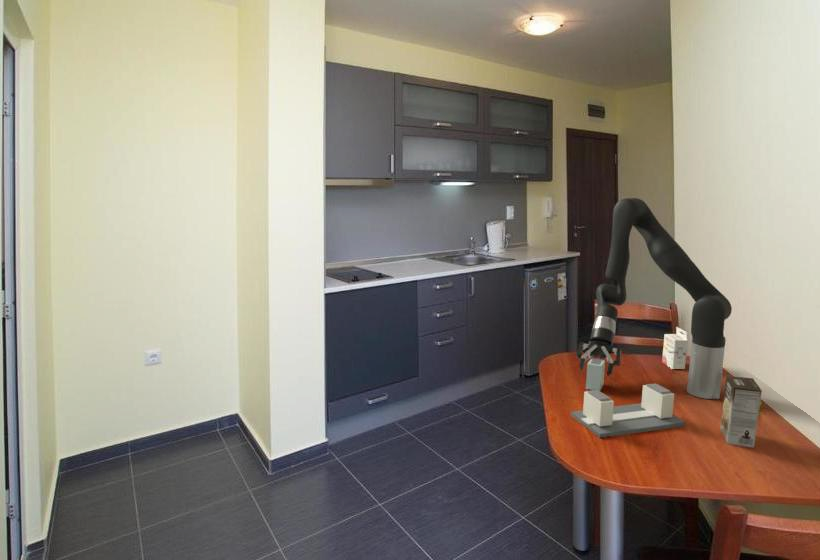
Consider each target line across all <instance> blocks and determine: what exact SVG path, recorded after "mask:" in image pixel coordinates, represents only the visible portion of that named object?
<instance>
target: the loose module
mask: <svg viewBox="0 0 820 560" xmlns="http://www.w3.org/2000/svg"><path fill="white" fill-rule="evenodd" d="M605 366H606V359H601V358H595V357H591V358H590V360H589V361H588V362H587V365H586V377H585V378H586V381H585V382H586V383H585V389H586V390H588V389H590V390H589V391H592V390H598V391H600V392H601V390H602V389H603V386H604V380H605V378H604V377H605V368H606V367H605Z"/></svg>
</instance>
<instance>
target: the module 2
mask: <svg viewBox="0 0 820 560" xmlns="http://www.w3.org/2000/svg"><path fill="white" fill-rule="evenodd" d="M674 402H675V393H673V392H671V390H669V389H668V388H665V387H664V386H662V385H660V384H658V383H656V382H655V383H647V384H643V385H642V393H641V402H640V403H641V407H642V408H644V409H645V410H647V411H649V412H650V413H652V414H654V415H655V416H657V417H659V418H660V419H661V418H668V417H672V415H673V414H674V413H673V411H674Z"/></svg>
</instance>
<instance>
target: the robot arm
mask: <svg viewBox="0 0 820 560" xmlns="http://www.w3.org/2000/svg"><path fill="white" fill-rule="evenodd" d="M647 204H648V203H646V202H645V201H644V200H643V199H640V198H637V197H628V198H623V199H620V200H618V201H617V202H616V204H615V205H614V208H613V212H612V232H611V243H610V251H609V255H608V260H607V265H606V269H605V277H606V279H609V280H611V281H613V282H615V283H616V284H617V285H613V284H609V283H601V284H599V285H598V286H597V288H596V289H595V290H596V292H595V296H596V303H597V308H596V309H597V310H596V314H595V319H594V322H593V326H592V329H591V335H590V339H589V342H588V343H584V342H583V341H579V343H578V347H577V350H576V354H575V355H576V356H575V357H576V359H577V360H580V361H579V369H580V371H581V372H585V371H584V370H585V367H586V361H587V360H589V359H591V358H595V359H601V360H604V359H605V361H607V363H608V366H607V370H606V375H607V376H611V375H612V374H613V370H614V367H620V365H621V356H622V348H621V347H613V344H614V339H615V335H616V328H617V326H616V325H617V319H618V315H619V314H618V313H619V312H618V309H617V308H616V306H622V305H624V304H625V302H626V301H627V288H626V287H627V285H626V281H627V279H626V278H627V275H628V274H627V273H628V268H629V264H630V258H631V257H630V252H631V251H630V236H631V231H632V228H633V227H634V229H635V230H637V232H638V233H639V234H640V235H641V237H642V238H643V240H644V242H645V243H646V247H647V251H648V253H649V255H650V257H651V259H652V260H653V262H654V263H655V264H656V266H657V267H658V268H659V269H660V270H661V271H662V273H664V274H665V275H666V277H668V278H670V280H672V281H673V282H675V283H676V284H677V285H679V286H680V287H682V289H684V290H686V292H687V293H688V295H690V296H691V298H692V299H693V301H694V303H693V304H694V305H693V306H692V311H691V324H690V335H691V348H690V355H689V356H690V357H689V365H688V367H689V369H688V377H687V383H686V384H687V385H686V388H687V389H686V392H687V394H690V395H692V396H694V397H697V398H702V399H706V400H707V399H708V400H721V399H720V397H721V389H722V380H723V366H724V359H725V358H724V357H725V349H726V348H725V346H726V337H725V336H724V335H725V334H724V330H725V321H726V320H727V319H729V317H730V316H731V314H732V311H733V310H732V309H733V308H732V304H731V302H730V300H729V299H728V298H727V297H726V295H724V294H723V293H722V292H721V291H720V290H719V289H717V287H715V286H714V285H713V284H712V283H711V282H710V281H709V280H708V279H707V277H706V276H705V275H704V274H703V273H702V272H701V269H699V267H698V266H697V265H696V264H695V262H693V261H692V259H691V258H690V256H689V255H688V254H687V252H686V251H685V250H684V249H683V248H682V247H681V246H680V244H679V243H678V242H677V241H676V240H675V239H674V238H673V237H672V236H671V235H670V233H669V232H668V231H667V230H666V229H665V227H663V226H662V224H661V223H660V222H659V221H658V219H657V218H656V216H655V215H654V213H653V212H652V210H651V208H650V207H649V206H648V205H647ZM586 349H588V350H586ZM584 350H586V351H585V353H583V351H584ZM612 353H614V355H615V360H614V359H613V358H612V357H611V354H612Z"/></svg>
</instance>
